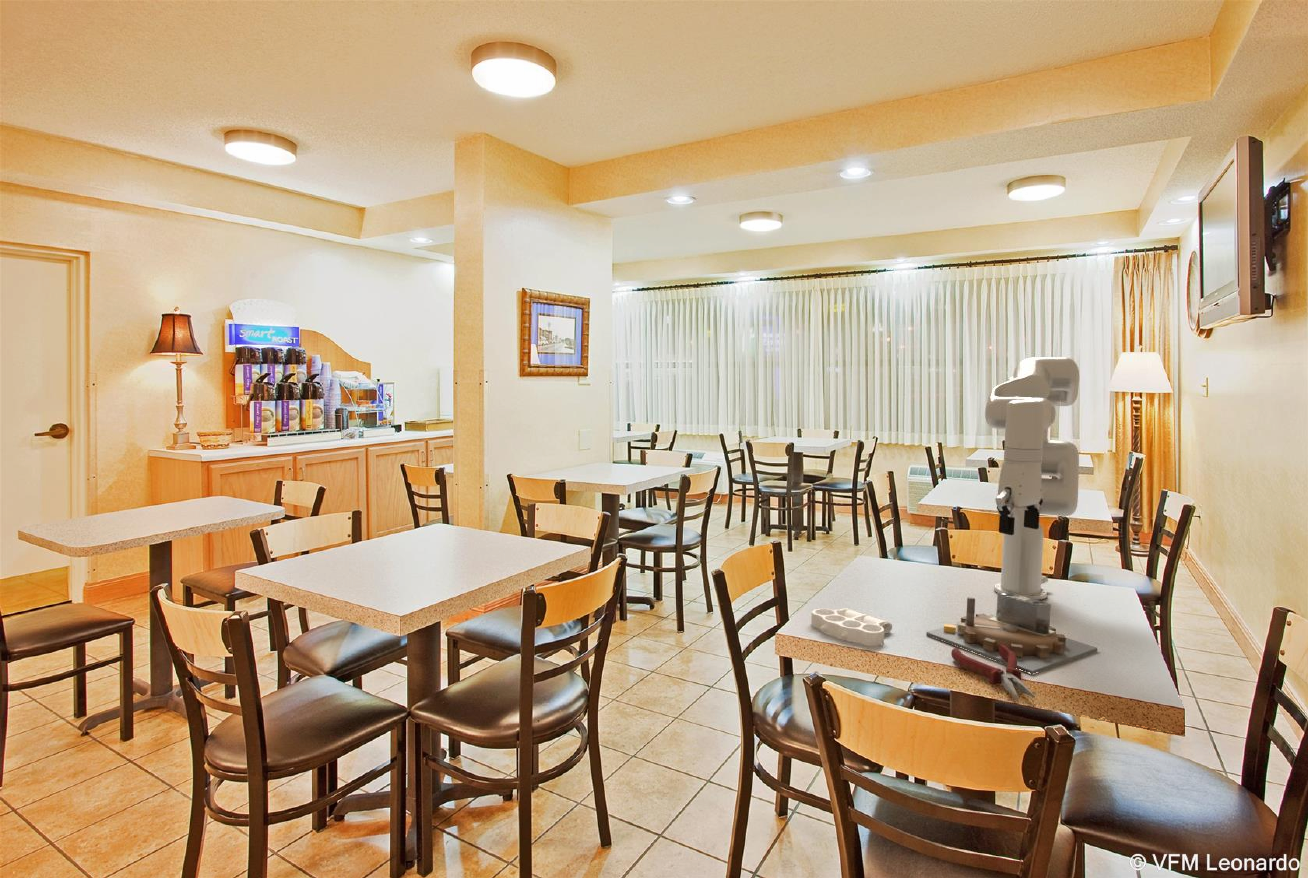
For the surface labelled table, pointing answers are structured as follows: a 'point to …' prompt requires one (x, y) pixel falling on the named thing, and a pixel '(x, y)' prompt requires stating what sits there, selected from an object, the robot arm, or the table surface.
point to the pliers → (996, 670)
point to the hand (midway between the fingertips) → (1018, 530)
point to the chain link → (1023, 612)
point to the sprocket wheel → (1007, 635)
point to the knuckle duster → (851, 626)
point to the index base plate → (1024, 663)
